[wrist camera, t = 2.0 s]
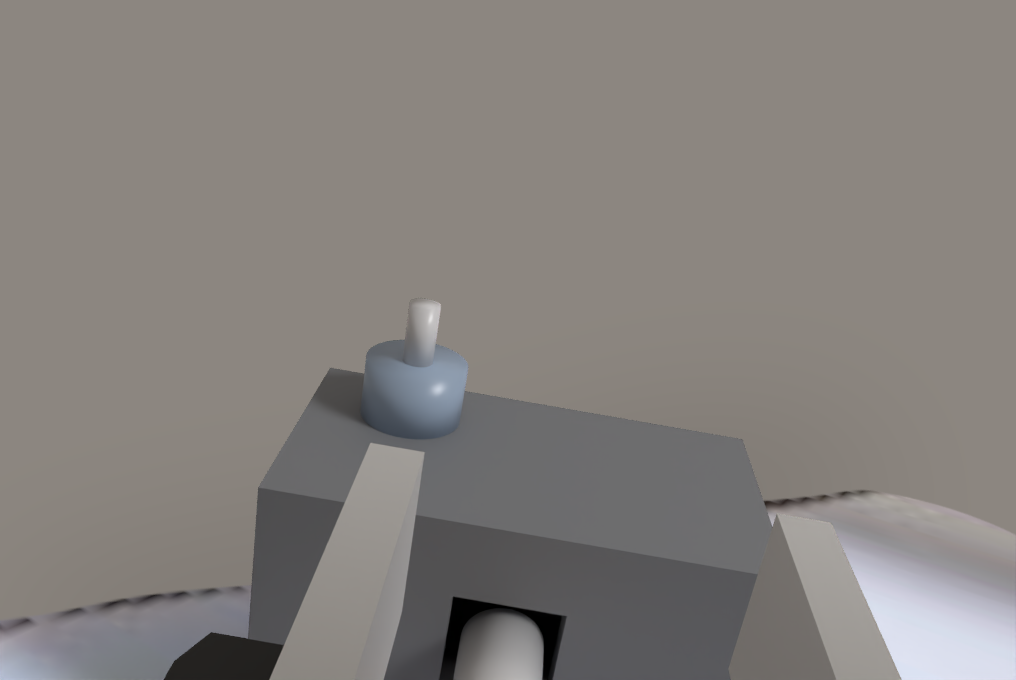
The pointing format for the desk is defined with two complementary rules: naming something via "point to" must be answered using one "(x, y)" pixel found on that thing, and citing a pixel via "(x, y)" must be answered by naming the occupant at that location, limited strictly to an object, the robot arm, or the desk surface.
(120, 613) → the desk surface
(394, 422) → the knob
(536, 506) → the housing
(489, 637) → the knob
